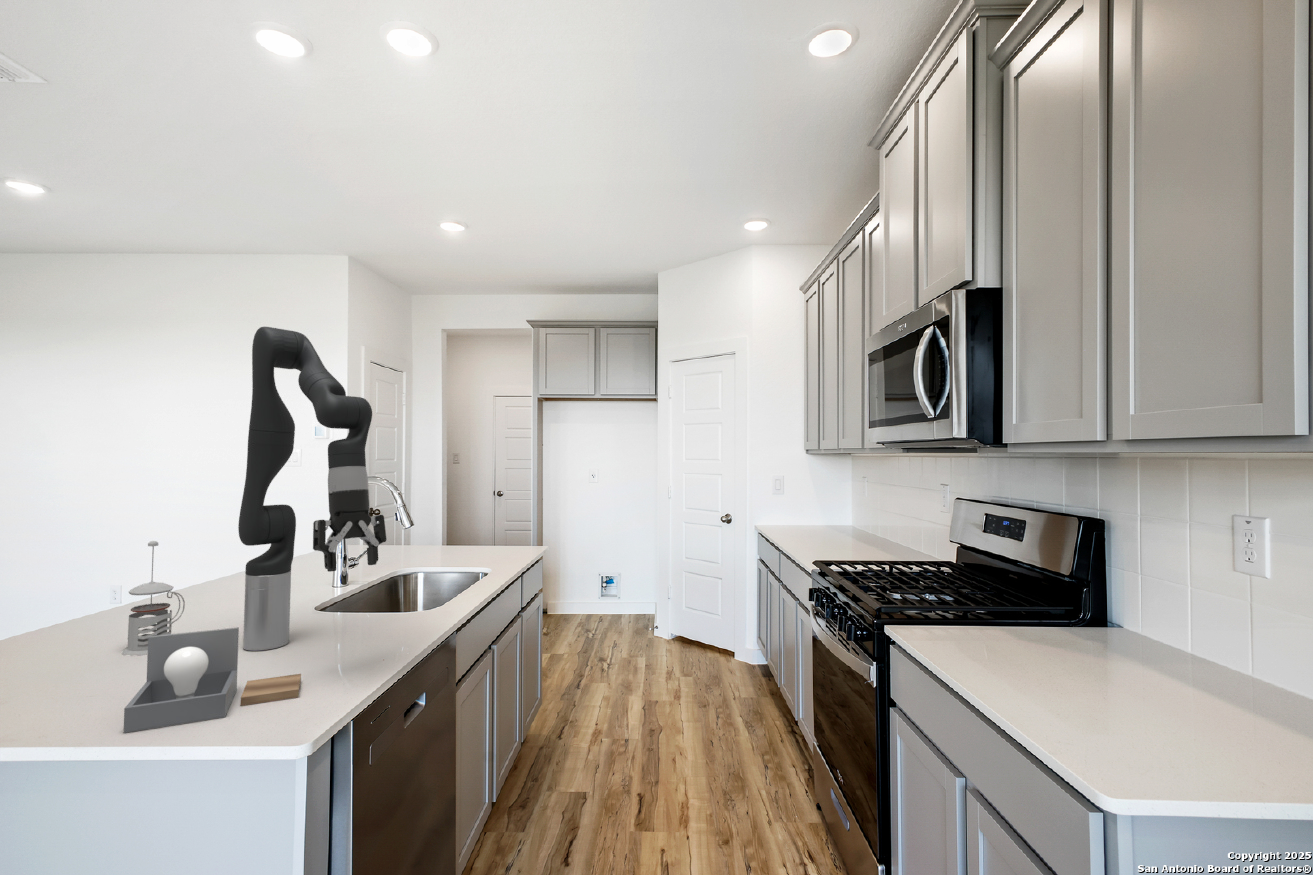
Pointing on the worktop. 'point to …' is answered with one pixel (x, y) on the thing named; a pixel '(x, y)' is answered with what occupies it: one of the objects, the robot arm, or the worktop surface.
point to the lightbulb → (186, 670)
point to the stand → (271, 689)
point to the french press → (160, 612)
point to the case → (213, 690)
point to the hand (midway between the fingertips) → (352, 567)
